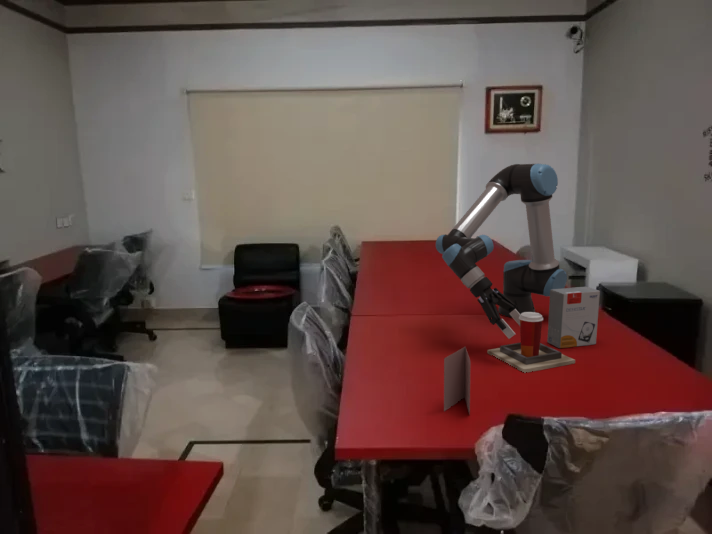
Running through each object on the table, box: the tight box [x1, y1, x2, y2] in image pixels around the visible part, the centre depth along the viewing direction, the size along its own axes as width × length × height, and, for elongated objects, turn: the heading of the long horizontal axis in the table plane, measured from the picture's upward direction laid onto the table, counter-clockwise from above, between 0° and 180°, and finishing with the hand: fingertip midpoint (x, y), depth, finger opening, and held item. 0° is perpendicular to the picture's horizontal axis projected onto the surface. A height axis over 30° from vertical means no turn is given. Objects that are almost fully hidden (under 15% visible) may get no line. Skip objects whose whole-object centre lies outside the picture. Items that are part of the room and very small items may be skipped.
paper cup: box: [519, 311, 544, 357], centre depth 185 cm, size 8×8×14 cm
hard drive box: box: [546, 286, 601, 349], centre depth 198 cm, size 16×8×20 cm, turn 105°
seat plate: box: [487, 341, 576, 374], centre depth 186 cm, size 20×20×3 cm
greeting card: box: [443, 346, 471, 416], centre depth 150 cm, size 11×7×15 cm, turn 141°
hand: (518, 331), depth 186 cm, fingers open, 13 cm apart
